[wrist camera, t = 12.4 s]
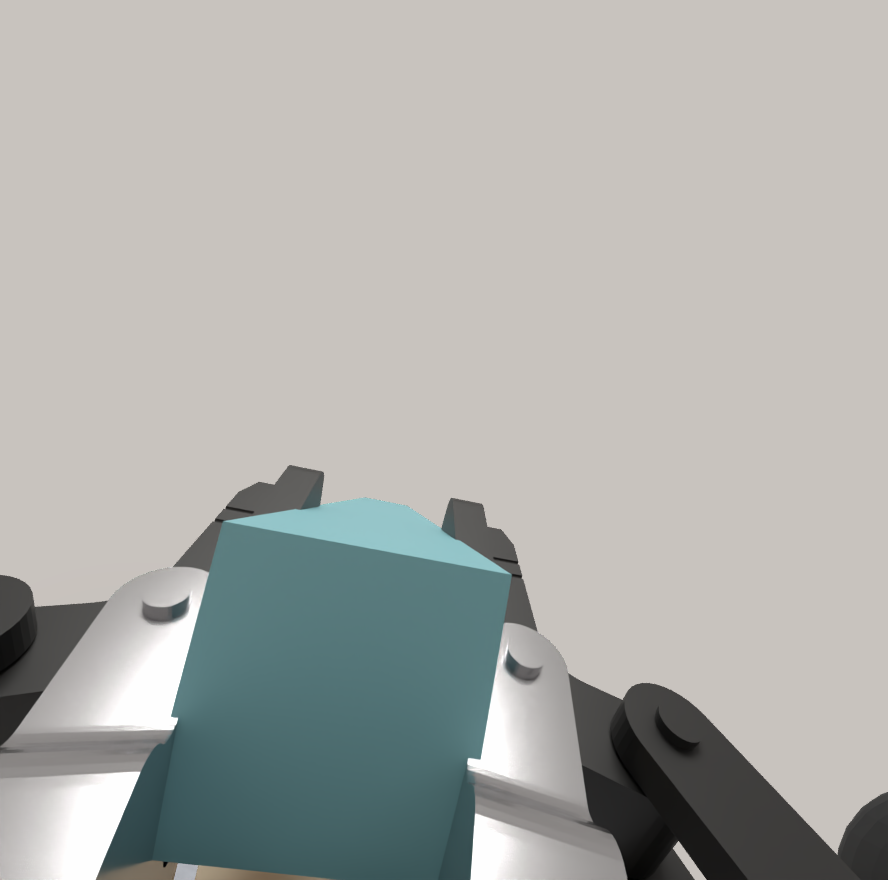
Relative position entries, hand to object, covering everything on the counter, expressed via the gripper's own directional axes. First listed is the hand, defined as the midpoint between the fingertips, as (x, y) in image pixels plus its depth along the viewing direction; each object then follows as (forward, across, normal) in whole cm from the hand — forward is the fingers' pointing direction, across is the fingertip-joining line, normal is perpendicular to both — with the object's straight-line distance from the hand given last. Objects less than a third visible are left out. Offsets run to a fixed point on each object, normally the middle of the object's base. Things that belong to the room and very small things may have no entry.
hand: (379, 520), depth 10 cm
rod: (+5, 0, +6) cm, 8 cm away
